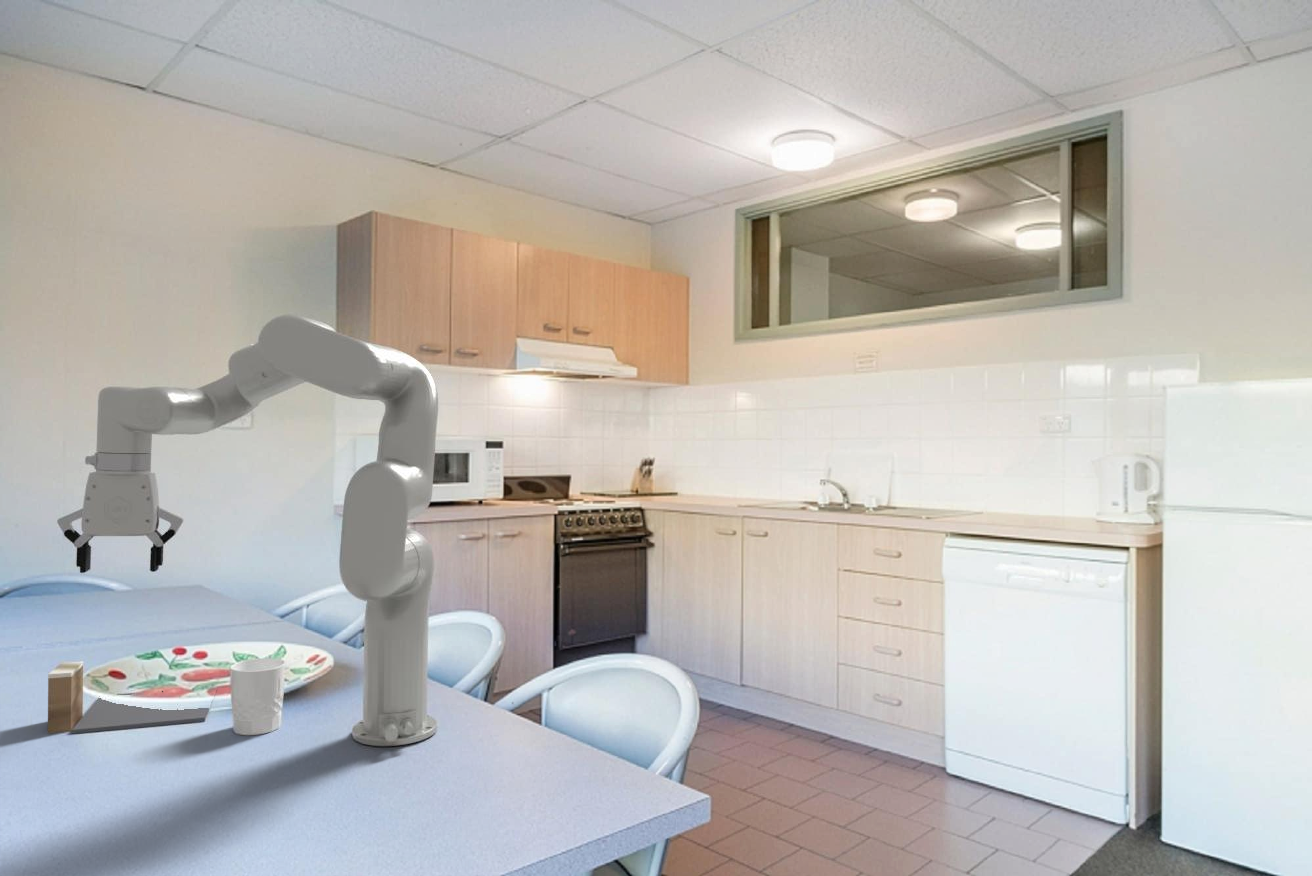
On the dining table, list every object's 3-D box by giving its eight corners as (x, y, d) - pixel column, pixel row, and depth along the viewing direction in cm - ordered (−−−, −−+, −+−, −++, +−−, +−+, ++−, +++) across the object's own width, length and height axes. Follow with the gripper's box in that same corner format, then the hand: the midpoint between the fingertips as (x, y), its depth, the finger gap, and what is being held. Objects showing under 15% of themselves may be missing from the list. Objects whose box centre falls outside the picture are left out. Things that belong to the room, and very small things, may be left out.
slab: (70, 731, 133) (71, 672, 133) (47, 733, 132) (48, 674, 131) (82, 717, 139) (83, 661, 139) (60, 718, 138) (61, 662, 138)
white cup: (217, 731, 134) (218, 666, 133) (262, 716, 140) (262, 655, 140) (251, 740, 130) (252, 674, 130) (295, 725, 137) (296, 662, 137)
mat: (204, 721, 138) (204, 717, 138) (72, 733, 131) (72, 729, 131) (217, 689, 155) (217, 686, 155) (100, 699, 148) (100, 695, 148)
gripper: (52, 464, 132) (49, 576, 132) (180, 466, 138) (177, 573, 138) (67, 461, 139) (63, 568, 139) (188, 464, 145) (184, 566, 145)
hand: (120, 570), depth 138 cm, fingers open, 9 cm apart
